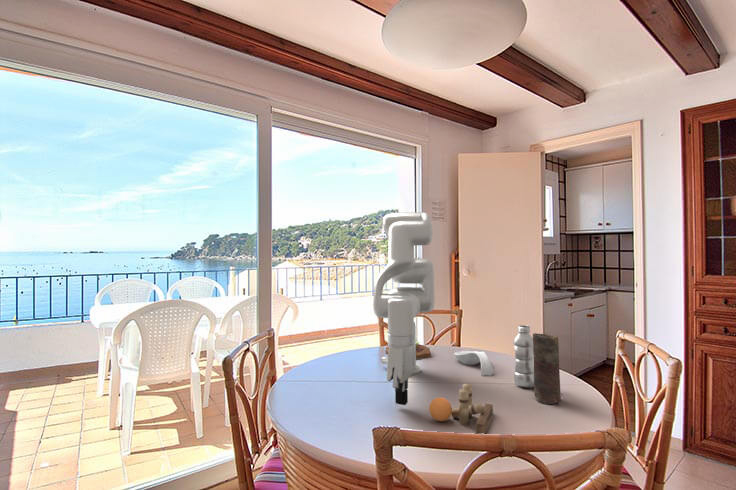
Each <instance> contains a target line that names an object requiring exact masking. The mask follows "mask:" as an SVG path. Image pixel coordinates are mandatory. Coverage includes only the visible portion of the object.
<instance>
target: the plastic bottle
mask: <svg viewBox="0 0 736 490" xmlns="http://www.w3.org/2000/svg"><path fill="white" fill-rule="evenodd" d="M517 326H518V327H517V332H518V334H516V336H515V337H514V339H513V346H514V347H513V348H514V354H515V368H514V369H515V371H514V376H513V379H514V383H515V385H516V386H518V387H521V388H534V359H533V357H534V356H533V336H531V334H530V333H531V327H530V325H517Z"/></svg>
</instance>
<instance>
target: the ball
mask: <svg viewBox="0 0 736 490" xmlns="http://www.w3.org/2000/svg"><path fill="white" fill-rule="evenodd" d="M452 408H453V407H452V405H451V403H450V401H449V400H448V399H446V398H444V397H438V396H437V397H436V398H435V397H434V398H433V399H432V400H431V401H430V404H429V406H428V410H429V414H430V416H431V418H433V419H434V420H435V421H438V422H446V421H448V420H449V419H450V417H452V415H451V413H452Z"/></svg>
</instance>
